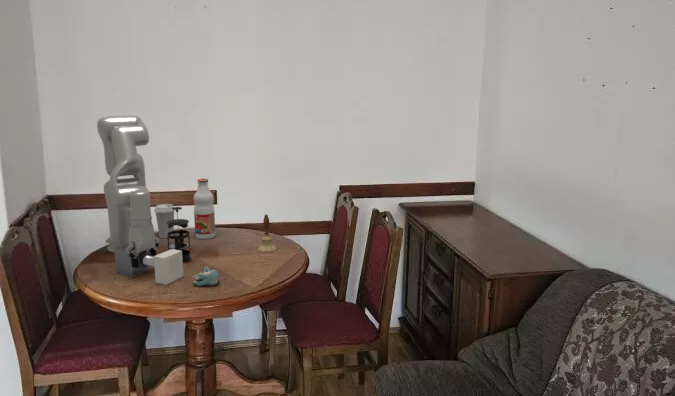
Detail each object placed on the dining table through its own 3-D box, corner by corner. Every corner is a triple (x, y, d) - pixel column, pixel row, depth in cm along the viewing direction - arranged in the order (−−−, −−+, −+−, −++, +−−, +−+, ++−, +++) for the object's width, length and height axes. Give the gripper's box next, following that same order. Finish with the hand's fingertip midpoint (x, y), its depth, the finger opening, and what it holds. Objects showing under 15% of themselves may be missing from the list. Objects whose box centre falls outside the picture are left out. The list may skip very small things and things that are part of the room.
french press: (189, 264, 252) (186, 210, 247) (166, 264, 252) (162, 210, 246) (193, 255, 264) (190, 203, 259) (171, 255, 263) (168, 204, 258)
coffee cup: (173, 239, 286) (171, 208, 283) (153, 239, 287) (151, 208, 283) (179, 233, 296) (177, 203, 292) (159, 233, 296) (157, 203, 293)
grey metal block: (116, 272, 242) (114, 248, 240) (130, 266, 249) (129, 243, 247) (133, 276, 238) (131, 252, 236) (147, 270, 245) (146, 246, 243)
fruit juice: (218, 237, 290) (216, 179, 284) (200, 240, 284) (197, 182, 278) (210, 232, 297) (207, 176, 291) (192, 236, 292) (189, 178, 285)
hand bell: (254, 250, 270) (253, 216, 266) (263, 245, 277) (262, 211, 274) (271, 253, 267) (270, 218, 263) (279, 247, 274) (279, 213, 271)
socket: (155, 282, 232) (153, 256, 229) (173, 274, 240) (171, 249, 238) (165, 284, 230) (164, 258, 227) (183, 276, 238) (181, 250, 236)
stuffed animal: (204, 262, 239) (225, 262, 231) (207, 280, 240) (228, 281, 232) (182, 269, 230) (203, 270, 223) (186, 288, 231) (206, 289, 224)
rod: (116, 263, 243) (115, 250, 242) (126, 259, 247) (125, 247, 246) (152, 270, 235) (151, 257, 233) (161, 266, 239) (161, 254, 238)
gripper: (150, 215, 245) (152, 256, 249) (117, 226, 230) (120, 269, 234) (164, 217, 242) (167, 258, 245) (132, 228, 226) (135, 272, 230)
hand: (144, 263), depth 239 cm, fingers open, 9 cm apart
